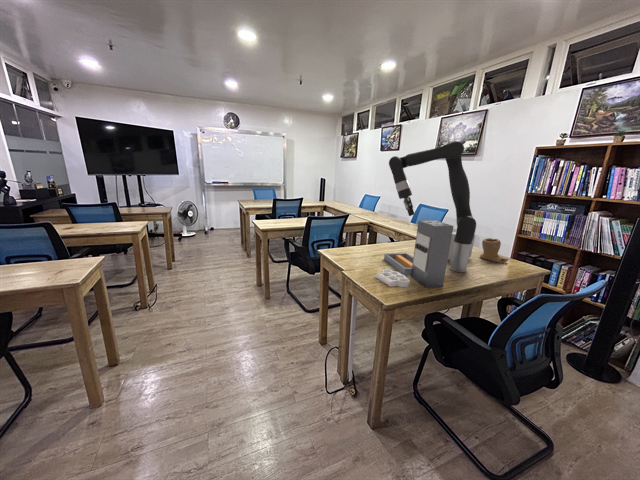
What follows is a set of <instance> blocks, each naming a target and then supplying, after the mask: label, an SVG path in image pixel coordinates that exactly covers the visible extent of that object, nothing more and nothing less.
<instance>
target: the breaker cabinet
mask: <svg viewBox="0 0 640 480" xmlns="http://www.w3.org/2000/svg"><path fill="white" fill-rule="evenodd" d="M452 232H454V225H452V224H448V223H446V222H442V221H440V220H435V219H434V220H433V219H432V220H430V219H429V220H428V219H427V220H424V219H423V220H420V219H419V220H418V222H417V230H416V236H415V243H414V244H415V245H414V250H413V256H412V257H413V264H412V272H411V275H410V277H411V279H413V280H415V281H416V282H417V283H418V284H419V285H421V286H422V287H423V288H424V289H427V288H428V289H430V288H431V289H432V288H443V287H444V282H445V276H446V272H447V266H448V261H449V260H448V255H449V249H450V244H451V238H452Z"/></svg>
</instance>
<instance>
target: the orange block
mask: <svg viewBox="0 0 640 480" xmlns="http://www.w3.org/2000/svg"><path fill="white" fill-rule="evenodd" d="M395 260H397V261H398V262H400V263H401V264H402V265H404V266H405V267H406V268H412V264H413V263H411V262H410V261H408V260H407V259H405V258H404V257H402V256H401V255H396V258H395Z"/></svg>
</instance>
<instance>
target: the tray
mask: <svg viewBox="0 0 640 480" xmlns="http://www.w3.org/2000/svg"><path fill="white" fill-rule="evenodd" d="M396 255H401V256H402V257H404V258H405V259H407V260H408V261H410V262H411V263H413V257H414V256H412V255H411V254H409V253H407V252H397V253H396V252H393V253H384V255H383V260H384V261H385V262H387V264H389V265H390V266H391V267H392V268H394V269H395V270H397V272H399V273H400V274H402V275H404V276H411V272H412V268H406V267H405V266H404V265H402V264H401V263H400V262H398V261H397V260H395V258H396Z"/></svg>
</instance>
